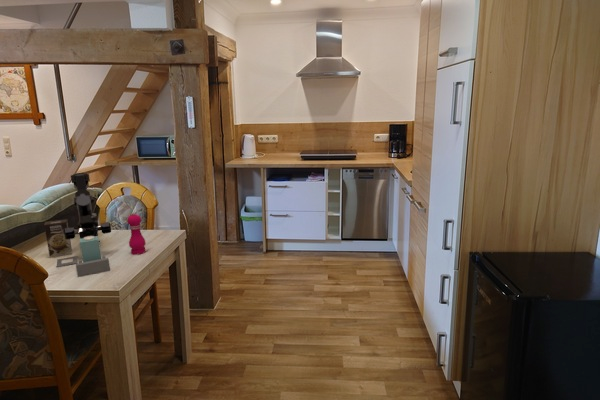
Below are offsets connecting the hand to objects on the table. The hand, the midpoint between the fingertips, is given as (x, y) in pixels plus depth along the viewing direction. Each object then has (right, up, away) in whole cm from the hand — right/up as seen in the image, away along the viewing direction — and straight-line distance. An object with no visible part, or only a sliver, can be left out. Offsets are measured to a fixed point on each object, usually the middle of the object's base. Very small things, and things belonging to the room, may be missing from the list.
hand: (90, 246), depth 175 cm
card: (-11, -7, +1) cm, 13 cm away
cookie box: (-20, -5, +11) cm, 23 cm away
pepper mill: (+17, -4, +11) cm, 20 cm away
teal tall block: (+4, -8, -5) cm, 10 cm away
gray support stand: (+6, -9, -8) cm, 13 cm away
